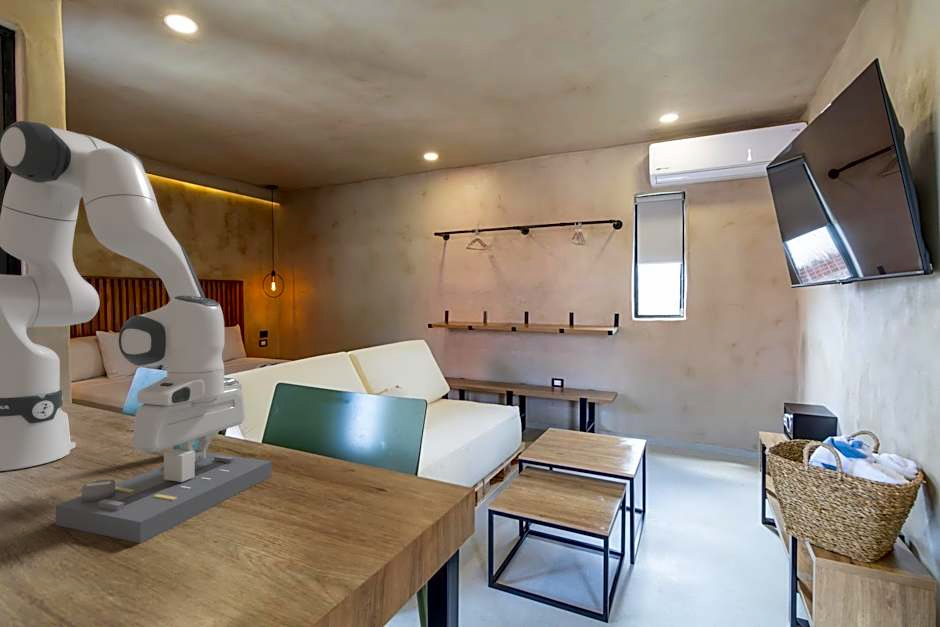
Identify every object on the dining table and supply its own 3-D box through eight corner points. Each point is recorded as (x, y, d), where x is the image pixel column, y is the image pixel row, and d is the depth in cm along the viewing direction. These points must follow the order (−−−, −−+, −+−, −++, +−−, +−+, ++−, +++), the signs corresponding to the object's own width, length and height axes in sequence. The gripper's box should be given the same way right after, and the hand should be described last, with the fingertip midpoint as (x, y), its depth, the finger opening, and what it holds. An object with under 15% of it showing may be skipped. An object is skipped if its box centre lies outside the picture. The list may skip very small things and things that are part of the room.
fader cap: (163, 479, 77) (163, 452, 77) (176, 474, 79) (177, 448, 79) (181, 482, 76) (181, 455, 75) (194, 476, 78) (194, 450, 78)
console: (55, 524, 67) (55, 490, 67) (202, 466, 92) (203, 441, 92) (140, 543, 62) (140, 506, 62) (271, 476, 87) (271, 450, 87)
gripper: (227, 376, 91) (227, 443, 91) (126, 394, 71) (126, 480, 72) (253, 378, 89) (252, 446, 90) (156, 397, 70) (156, 485, 70)
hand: (195, 461), depth 80 cm, fingers closed
